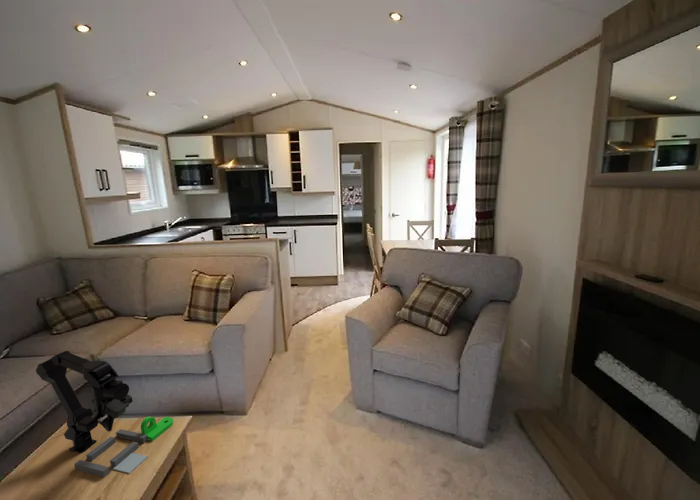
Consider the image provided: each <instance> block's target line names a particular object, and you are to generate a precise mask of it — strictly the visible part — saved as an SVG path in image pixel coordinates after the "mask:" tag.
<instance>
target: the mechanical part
mask: <svg viewBox="0 0 700 500" xmlns="http://www.w3.org/2000/svg"><path fill="white" fill-rule="evenodd" d="M173 425H174V419H173V417H170V416H165V417H163V418H162V419H161V420H159V421H156V418H155V417H153V416H150V415H148V416H146V417H145V418H143V420H142V421H141V424H140V431H141V432H140V433H141V434H146V435H147V436H148V440H147V441H151V442H154V441H156V439H158V438H159V437H160V436H161V435H162V434H164V433H165V432H166V431H167V430H169V429H170V428H172V427H173Z"/></svg>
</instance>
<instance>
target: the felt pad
mask: <svg viewBox="0 0 700 500" xmlns="http://www.w3.org/2000/svg"><path fill="white" fill-rule="evenodd" d="M148 458H149V456H148V455H144V454H139V453H135V452H133V453H131V454H130V455H129V456H128V457H127V458H125V459H124V460H123V461H122V462H121V463H120V464H118V465H117V466H115V467H113V468H112V470H114V471H117V472H121V473H126V474H129V475H130V474H131V473H132V472H134V471H135V469H137V467H139V466H140V465H141V464H142V463H143V462H144V461H145V460H147V459H148Z"/></svg>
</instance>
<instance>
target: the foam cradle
mask: <svg viewBox="0 0 700 500" xmlns="http://www.w3.org/2000/svg"><path fill="white" fill-rule="evenodd" d="M115 434H116V437H114V436H109V437H108V438H107V439H105V440H104V441H103V442H102V443H99V445H97V446H96V447H95V448H93V449H92V450H90V451H89V452H87V453H86V460H81V459H78V460H77V461H76V462H75V463H73V464H74V465H73V466H74V469H75V470H77V471H80V472H84V473H87V474H91V475H93V476H97V477H102V478H106V477H107V476H108V475H109V474H110V473H111V471H110V467H113V468H114V467H115V466H117V465H118V464H120V463H121V462H122V461H123V460H124V459H125V458H127V457H128V456H129V455H130V454H131V453H135V452H136V451H137V450H138V449H139V448H140V447H139V443H141V444H145V443H146V442H148V441H149V440H148V436H147V435H146V434H142V432H136V431H130V430H126V429H118V430H117V431H116V432H115ZM116 438H120V439H125V440H128V441H129V440H130V441H132V442H131V443H130V444H128V445H127V446H126V447H124V448H123V449H122V450H121V451H119V453H117V454H116V455H115V456H114V457H112V458H111V459H110V460H109V462H110V466H106V465H102V464H97V463H94V462H93V461H94V460H95V459H97V458H98V457H99V456H101V455H102V454H103V453H104V452H106V451H107V450H108V449H109V448H111V447H112V446H113V445H114V444H115V443H116V442H117V441H116ZM89 461H90V462H89Z"/></svg>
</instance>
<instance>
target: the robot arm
mask: <svg viewBox="0 0 700 500" xmlns="http://www.w3.org/2000/svg"><path fill="white" fill-rule="evenodd" d="M68 369H69V370H72V371H74V372H77V373H79V374H81V375H82V377H83V380H85V381H87V384H86V385H87V386H90V387H91V392H92V396H93V399H91V403H92V404H94V406H95V408H94V409H93V410H92V409H91V408H86V407H84V406H83V405H82V404H81V402H80V399H79V397H78V396H77V395H76V392H75V390H74V389H73V386H72V385H71V383H70V381H69V380H68V377H67V371H68ZM35 372H36V374H37V375H38V376H39V377H40V379H41V380H42V381H44V382H46V383H48V384H50V385H51V387H52V388H53V391H54V392H55V395H56V396H57V398H58V400H59V401H60V403H61V405H62V406H63V409H64V410H65V412H66V414H67V419H66V426H67V429H66V431H65V432H64V433H63V436H64V438H65V439H66V440H68V441H69V440H70V441H72V446H71V447H69V451H72V452H74V453H75V452H76V453H79V454H80V453H83V452H85V451H86V450H87V449H89V448H90V447H92V445H94V444H96V442H97V440H96V439H93V437H92V433H91V431H92V430H94V429H95V428H96V427H98V426H99V425H100V426H102V428H104V429H105V430H106V431H107V432H109V433H110V432H112V430H113V426H114V425H113V424H114V421H115V419H116V418H117V419H118V418H119V416H121V415H123V414H124V413H126V410H127V408H129V406H130V404H131V403H132V402H133V401H134V400H133V396H132V395H129V391H130V386H129V385H128V383H124V382H123V380H116V379H117V378H119V377H120V376H119V374H118V372H117V371H116V370H115V369H114V368H113V367H112V365H111V364H110V363H109V362H107V361H106V360H105V361H104V360H100V359H99V360H90V359H87V358H84V357H82V356H79V355H76V354H73V353H71V352H70V351H69V350H64V351H62V352H59V353H57V354H55V355H53V356H52V357H50V359H47V360H45V361H43V362H42V361H41V362H40V363H39V364H38V365H37V366H36V368H35ZM107 376H108V377H107ZM94 413H95V414H94Z"/></svg>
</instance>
